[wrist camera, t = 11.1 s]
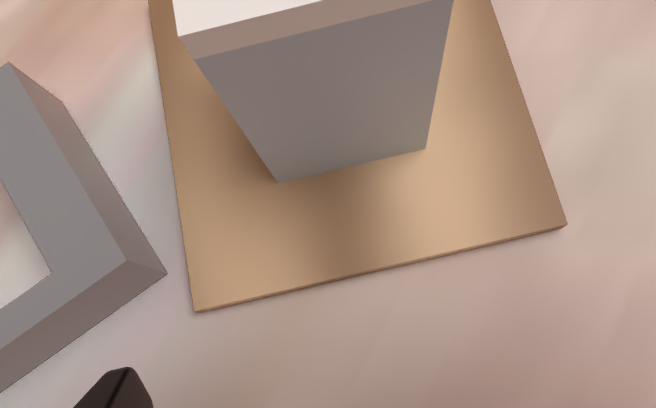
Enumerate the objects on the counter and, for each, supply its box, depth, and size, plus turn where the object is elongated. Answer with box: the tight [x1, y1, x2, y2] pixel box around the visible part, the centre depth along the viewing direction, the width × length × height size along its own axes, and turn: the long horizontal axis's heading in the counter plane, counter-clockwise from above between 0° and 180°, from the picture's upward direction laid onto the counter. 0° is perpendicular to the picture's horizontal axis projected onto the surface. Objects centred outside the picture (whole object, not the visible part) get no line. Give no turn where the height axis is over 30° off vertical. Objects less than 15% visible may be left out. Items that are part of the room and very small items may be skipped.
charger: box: [172, 0, 454, 183], centre depth 14 cm, size 5×5×9 cm
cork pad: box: [148, 0, 568, 312], centre depth 19 cm, size 12×12×1 cm
